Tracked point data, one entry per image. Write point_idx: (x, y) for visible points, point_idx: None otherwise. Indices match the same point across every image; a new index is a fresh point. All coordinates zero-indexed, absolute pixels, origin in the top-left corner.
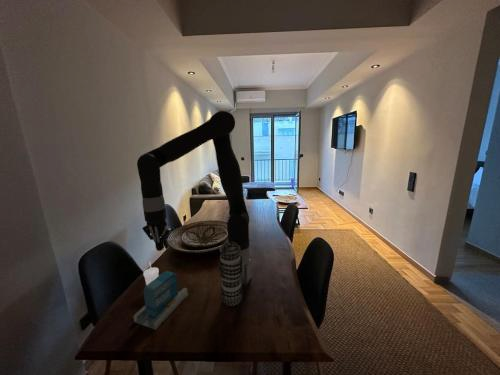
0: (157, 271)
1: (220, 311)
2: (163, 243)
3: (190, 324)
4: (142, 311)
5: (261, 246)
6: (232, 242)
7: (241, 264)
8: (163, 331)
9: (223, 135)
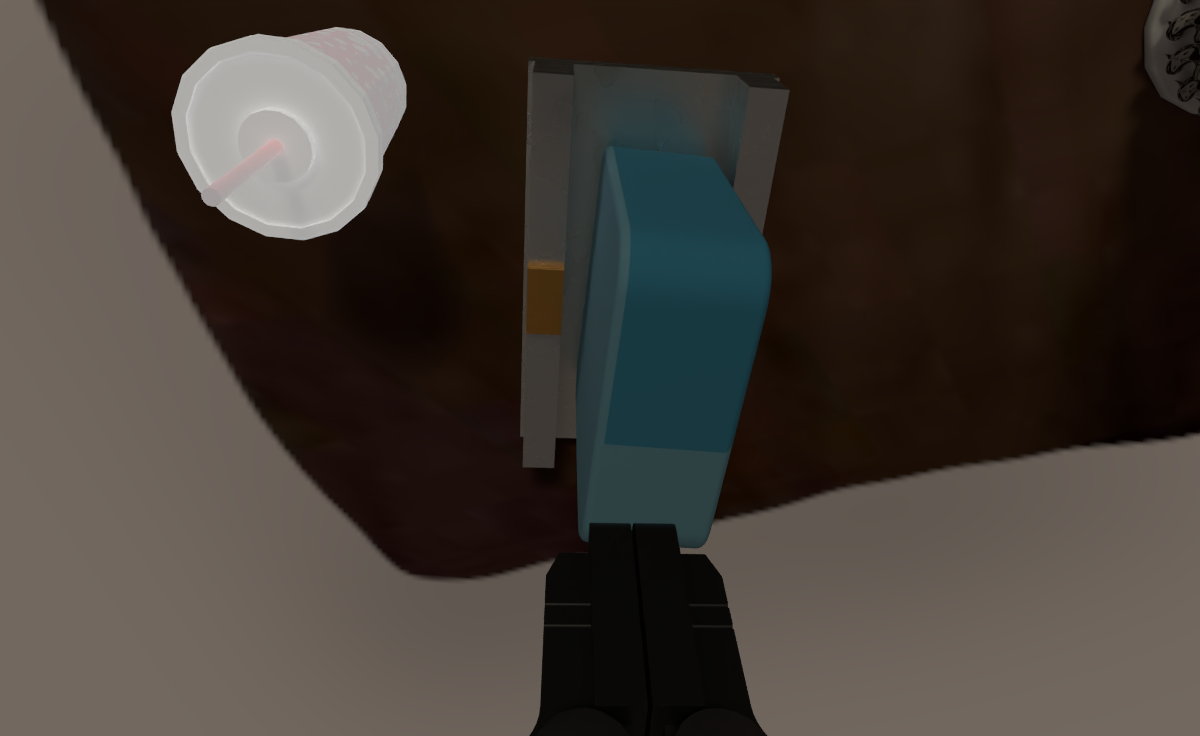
0: (363, 119)
1: (1134, 166)
2: (739, 662)
3: (918, 331)
4: (555, 424)
5: None
6: None
7: None
8: (757, 417)
9: None
